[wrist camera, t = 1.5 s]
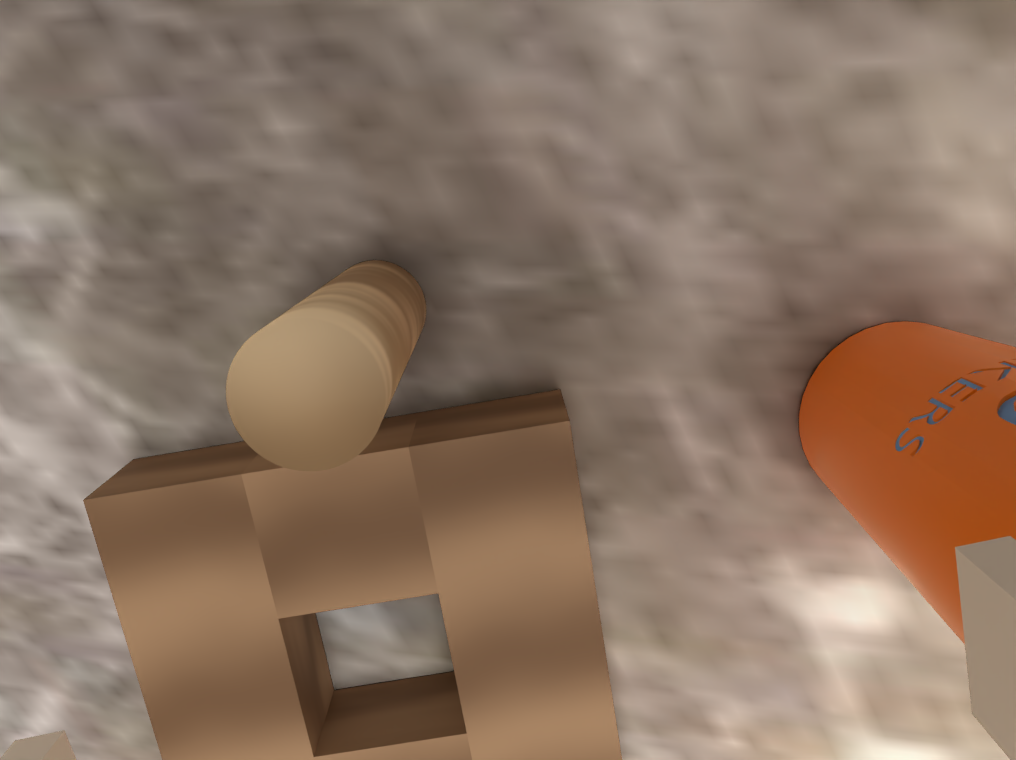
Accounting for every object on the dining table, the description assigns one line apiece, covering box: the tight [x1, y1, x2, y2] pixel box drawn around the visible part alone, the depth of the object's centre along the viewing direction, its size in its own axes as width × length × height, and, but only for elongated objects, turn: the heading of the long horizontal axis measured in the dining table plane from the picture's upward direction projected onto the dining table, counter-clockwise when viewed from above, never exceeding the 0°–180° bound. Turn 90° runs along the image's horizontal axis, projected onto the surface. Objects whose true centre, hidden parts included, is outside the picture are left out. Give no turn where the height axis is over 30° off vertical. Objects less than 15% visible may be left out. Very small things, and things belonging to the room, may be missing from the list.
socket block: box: [83, 389, 622, 760], centre depth 32 cm, size 16×16×4 cm
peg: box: [226, 260, 426, 471], centre depth 25 cm, size 4×4×12 cm
